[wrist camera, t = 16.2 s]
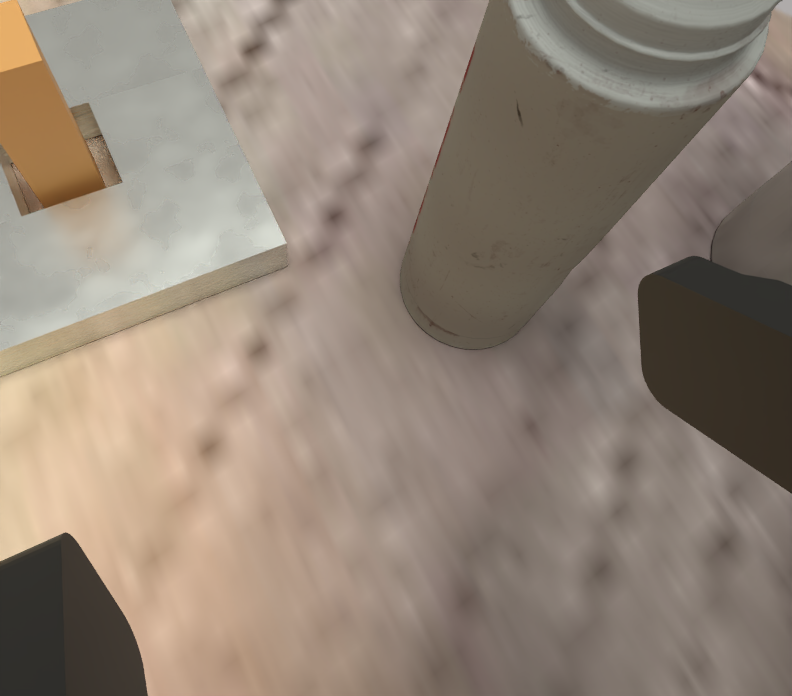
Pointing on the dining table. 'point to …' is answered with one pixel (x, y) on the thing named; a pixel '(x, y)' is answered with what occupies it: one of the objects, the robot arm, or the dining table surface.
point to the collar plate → (129, 189)
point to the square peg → (39, 118)
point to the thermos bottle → (562, 146)
